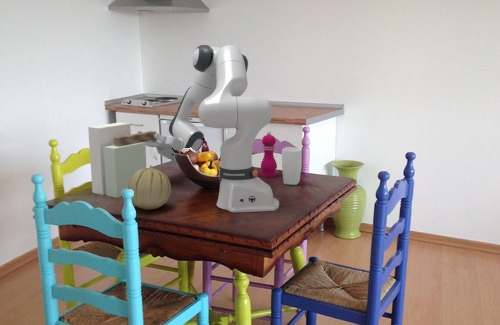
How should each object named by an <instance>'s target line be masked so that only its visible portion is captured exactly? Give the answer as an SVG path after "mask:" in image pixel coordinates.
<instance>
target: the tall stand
mask: <svg viewBox="0 0 500 325" xmlns="http://www.w3.org/2000/svg"><path fill="white" fill-rule="evenodd" d="M87 129H88V131H87V132H88V143H89V144H88V146H89V158H90V159H89V160H90V174H91V175H90V176H91V188H92V189H91V190H92V194H96V195H101V196H104V195H105V196H106V182H105V166H104V149H103V147H107V146H112V145H115V144H114V138H115V137H121V136H127V135H132V134H131V133H132V128H131V123H128V122H114V123H113V122H112V123H107V124H99V125H94V126H88V127H87Z"/></svg>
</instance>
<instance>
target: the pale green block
mask: <svg viewBox="0 0 500 325" xmlns="http://www.w3.org/2000/svg"><path fill="white" fill-rule="evenodd" d="M146 147H147V146H146V145H145V142H141V143H136V144H131V145H126V146H121V147H118V146H115V145H112V146H107V147H103V149H104V166H105V182H106V194H105V196H106V197H109V198H116V199H118V198H122V197H121V194H120V193H121V191H122V190H123V189H127V188H128V184H129V181H130V179H131V177H132V176H133V175H134V174H135V173H136V172H137V171H138V170H140V169H144V168H147V149H146Z"/></svg>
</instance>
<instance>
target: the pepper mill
mask: <svg viewBox="0 0 500 325" xmlns="http://www.w3.org/2000/svg"><path fill="white" fill-rule="evenodd" d="M276 139H277V138H276V137H275V136H274V135H272V132H271V131H267V132H266V135H264V136H263V137H262V138H261V142H262V145H263V146H262V147H263V149H262V150H264V155H263V157H262V161H261V163H260V168H261V170H262V172H261V177H263V178H267V179H268V178H274V177H276V174H277V173H276V170H277V168H278V165H277V161H276V159H275V156H274V151H275V145H276V141H277V140H276Z"/></svg>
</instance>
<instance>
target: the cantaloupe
mask: <svg viewBox="0 0 500 325" xmlns="http://www.w3.org/2000/svg"><path fill="white" fill-rule="evenodd" d="M128 189H132V190H133V191H134V197H133V198H132V201H131V202H132V204H134V205H135V206H136V207H138V208H140V209H142V210H148V211H149V210H155V209H159V208H160V207H162V206H163V205H165V204H166V202H167V201H168V200H169V197H170V195H171V190H172V187H171V182H170V179H169V177H168V176H167V175H166V174H165V173H164V172H163V171H161V170H159V169H157V168H155V167H154V166H152V165H149V167H146V168H144V169H140V170H138V171H137V172H136V173H135V174H134V175H133V176H132V177H131V179H130V181H129V184H128Z"/></svg>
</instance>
